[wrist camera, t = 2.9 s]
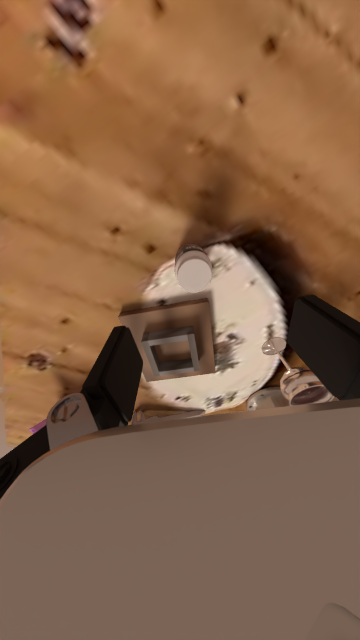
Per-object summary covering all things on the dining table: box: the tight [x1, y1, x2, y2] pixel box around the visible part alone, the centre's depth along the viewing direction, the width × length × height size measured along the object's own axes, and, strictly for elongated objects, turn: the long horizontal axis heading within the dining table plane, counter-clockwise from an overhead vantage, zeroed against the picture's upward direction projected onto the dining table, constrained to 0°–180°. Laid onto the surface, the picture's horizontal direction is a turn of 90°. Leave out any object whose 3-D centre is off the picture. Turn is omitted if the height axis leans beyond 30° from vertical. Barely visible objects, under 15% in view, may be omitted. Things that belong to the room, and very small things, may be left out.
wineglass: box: [262, 338, 334, 406], centre depth 31 cm, size 7×7×12 cm
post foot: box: [118, 298, 216, 382], centre depth 33 cm, size 16×18×4 cm
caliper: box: [132, 411, 205, 425], centre depth 46 cm, size 20×1×6 cm, turn 90°
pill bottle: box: [175, 244, 212, 293], centre depth 23 cm, size 5×5×8 cm
